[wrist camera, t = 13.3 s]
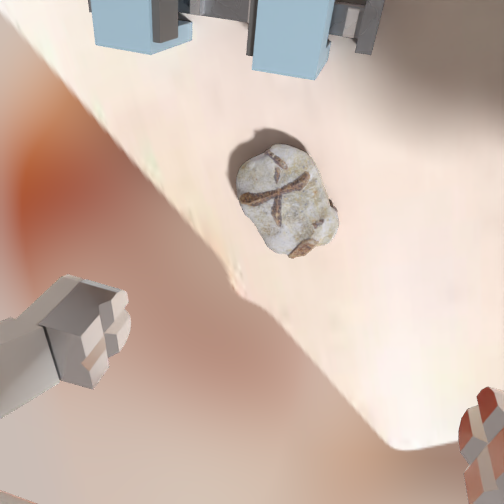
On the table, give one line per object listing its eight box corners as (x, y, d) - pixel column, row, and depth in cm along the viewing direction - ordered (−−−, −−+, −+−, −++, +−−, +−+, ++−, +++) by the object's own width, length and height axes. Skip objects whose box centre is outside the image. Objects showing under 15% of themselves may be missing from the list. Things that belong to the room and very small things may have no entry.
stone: (225, 165, 42) (214, 178, 39) (300, 126, 38) (294, 138, 35) (280, 253, 47) (273, 269, 44) (353, 227, 42) (351, 244, 40)
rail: (385, -5, 30) (385, -3, 27) (372, 47, 32) (371, 54, 29) (108, -41, 34) (82, -42, 31) (112, 8, 36) (89, 11, 33)
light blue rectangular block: (345, -33, 30) (335, -34, 24) (327, 60, 34) (314, 80, 27) (279, -41, 31) (252, -44, 24) (269, 50, 34) (243, 68, 28)
